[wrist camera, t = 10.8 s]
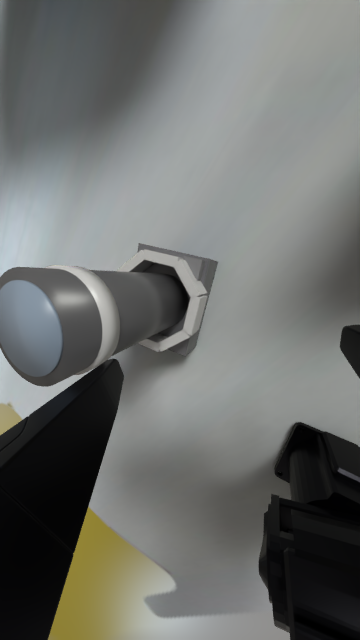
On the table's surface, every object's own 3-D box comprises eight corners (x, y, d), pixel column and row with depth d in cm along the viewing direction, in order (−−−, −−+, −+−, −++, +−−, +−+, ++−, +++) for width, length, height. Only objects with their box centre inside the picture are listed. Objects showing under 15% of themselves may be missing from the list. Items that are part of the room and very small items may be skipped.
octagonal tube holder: (200, 348, 22) (181, 368, 17) (136, 324, 25) (104, 335, 20) (224, 263, 20) (209, 258, 15) (150, 246, 22) (117, 237, 17)
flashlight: (181, 336, 19) (67, 412, 8) (134, 318, 21) (-13, 363, 10) (195, 279, 18) (78, 281, 7) (143, 265, 20) (-18, 250, 9)
